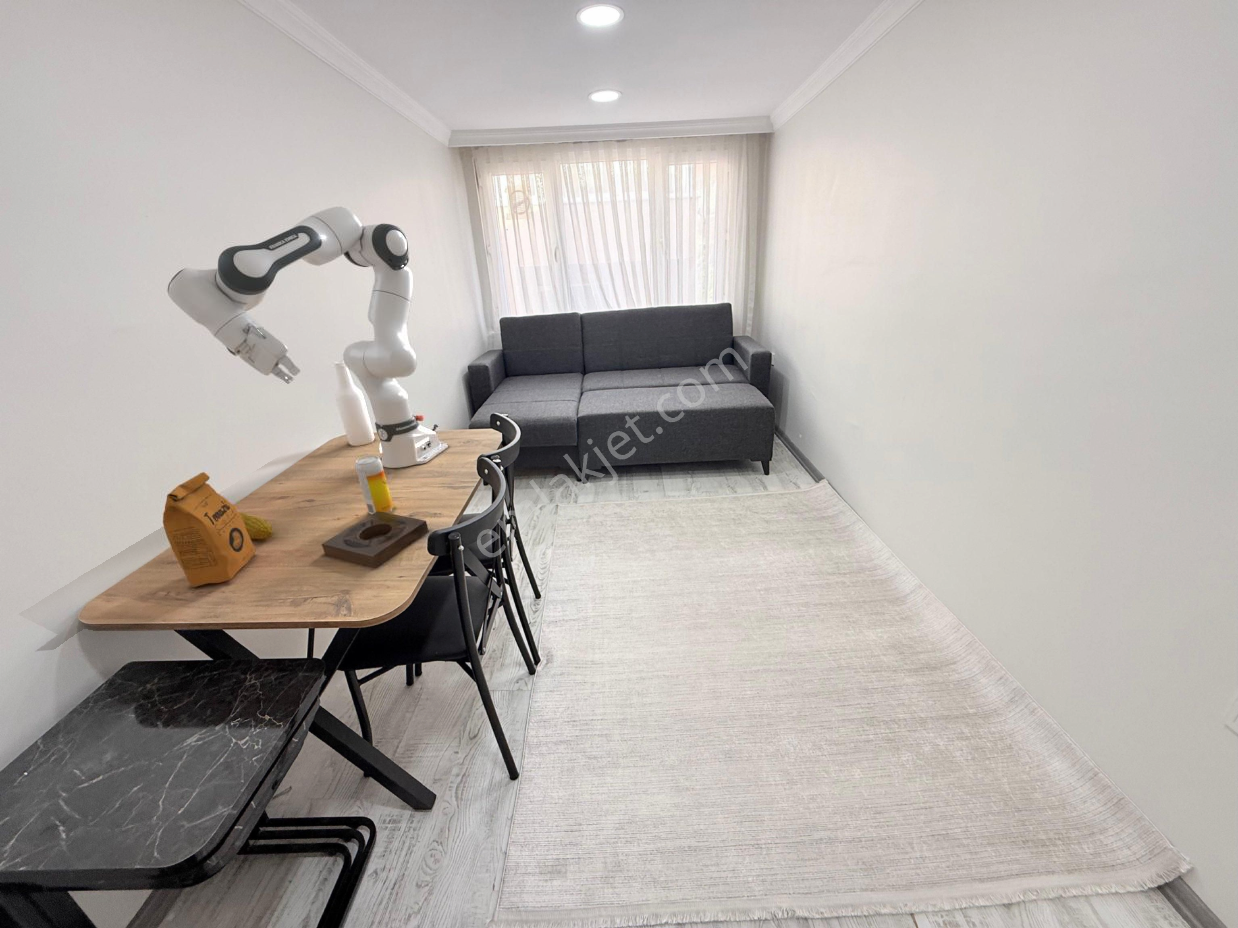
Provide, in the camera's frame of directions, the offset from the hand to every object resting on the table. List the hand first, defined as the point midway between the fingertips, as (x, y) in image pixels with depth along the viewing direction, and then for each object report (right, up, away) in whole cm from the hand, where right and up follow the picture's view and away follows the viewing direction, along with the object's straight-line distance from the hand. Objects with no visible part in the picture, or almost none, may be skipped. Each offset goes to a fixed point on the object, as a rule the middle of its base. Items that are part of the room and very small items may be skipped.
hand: (294, 377), depth 123 cm
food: (-13, -39, +1) cm, 41 cm away
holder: (+24, -40, -7) cm, 47 cm away
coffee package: (-6, -45, -14) cm, 48 cm away
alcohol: (-14, -14, +60) cm, 63 cm away
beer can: (+18, -34, +8) cm, 40 cm away
